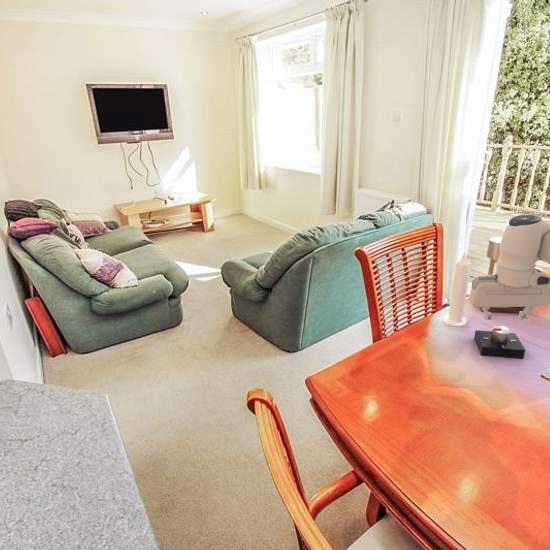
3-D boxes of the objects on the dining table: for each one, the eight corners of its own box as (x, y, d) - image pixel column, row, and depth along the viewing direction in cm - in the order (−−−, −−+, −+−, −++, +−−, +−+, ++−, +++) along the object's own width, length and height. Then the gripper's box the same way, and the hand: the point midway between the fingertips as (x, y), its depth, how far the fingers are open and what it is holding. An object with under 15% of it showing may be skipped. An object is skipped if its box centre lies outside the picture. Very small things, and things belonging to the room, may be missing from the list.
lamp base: (520, 301, 136) (522, 291, 134) (529, 314, 127) (532, 304, 126) (475, 298, 140) (477, 289, 138) (481, 312, 131) (483, 301, 129)
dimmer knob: (503, 335, 112) (505, 324, 111) (510, 343, 108) (513, 332, 107) (488, 335, 113) (490, 324, 111) (495, 343, 109) (497, 332, 107)
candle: (455, 329, 122) (466, 258, 112) (438, 319, 128) (447, 251, 118) (471, 323, 125) (483, 253, 115) (454, 314, 131) (463, 247, 121)
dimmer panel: (513, 341, 114) (515, 332, 113) (523, 359, 106) (525, 349, 105) (474, 338, 117) (475, 329, 116) (480, 355, 109) (482, 346, 108)
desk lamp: (497, 292, 135) (508, 236, 126) (502, 300, 129) (514, 243, 121) (478, 291, 137) (487, 236, 128) (482, 299, 131) (492, 242, 122)
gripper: (477, 280, 100) (470, 324, 106) (560, 278, 98) (549, 324, 103) (469, 270, 106) (462, 313, 112) (547, 269, 103) (537, 312, 109)
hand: (504, 318), depth 107 cm, fingers open, 8 cm apart
